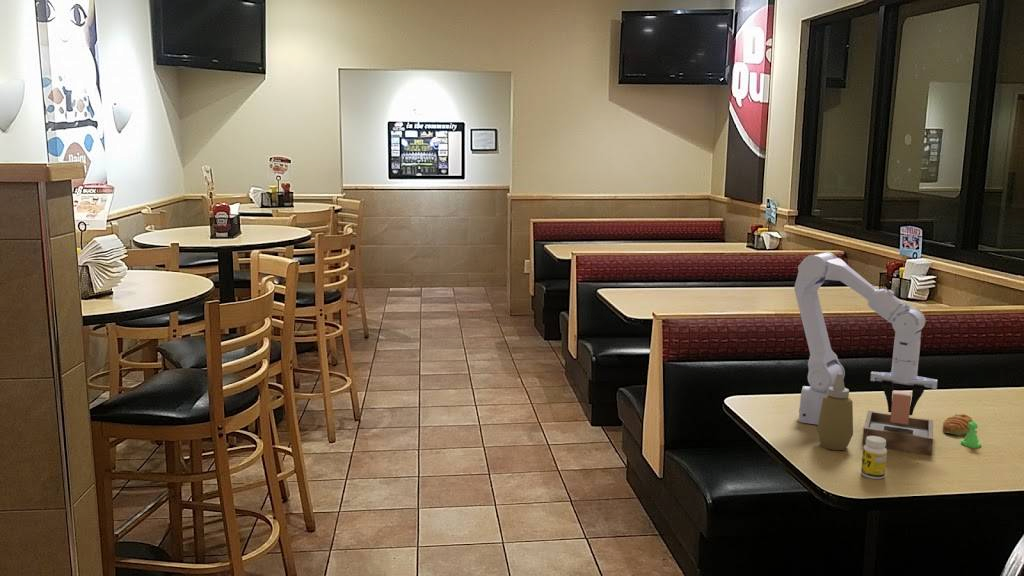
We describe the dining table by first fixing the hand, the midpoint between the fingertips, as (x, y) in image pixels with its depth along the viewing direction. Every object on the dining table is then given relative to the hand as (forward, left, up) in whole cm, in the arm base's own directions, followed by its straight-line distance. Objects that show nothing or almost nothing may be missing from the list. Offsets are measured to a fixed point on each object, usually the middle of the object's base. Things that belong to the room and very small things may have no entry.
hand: (900, 412), depth 200 cm
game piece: (+16, +5, -7) cm, 18 cm away
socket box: (0, 0, -7) cm, 7 cm away
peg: (0, 0, -2) cm, 2 cm away
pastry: (+14, +15, -7) cm, 21 cm away
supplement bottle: (-4, -27, -7) cm, 28 cm away
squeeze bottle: (-14, -13, -7) cm, 20 cm away
